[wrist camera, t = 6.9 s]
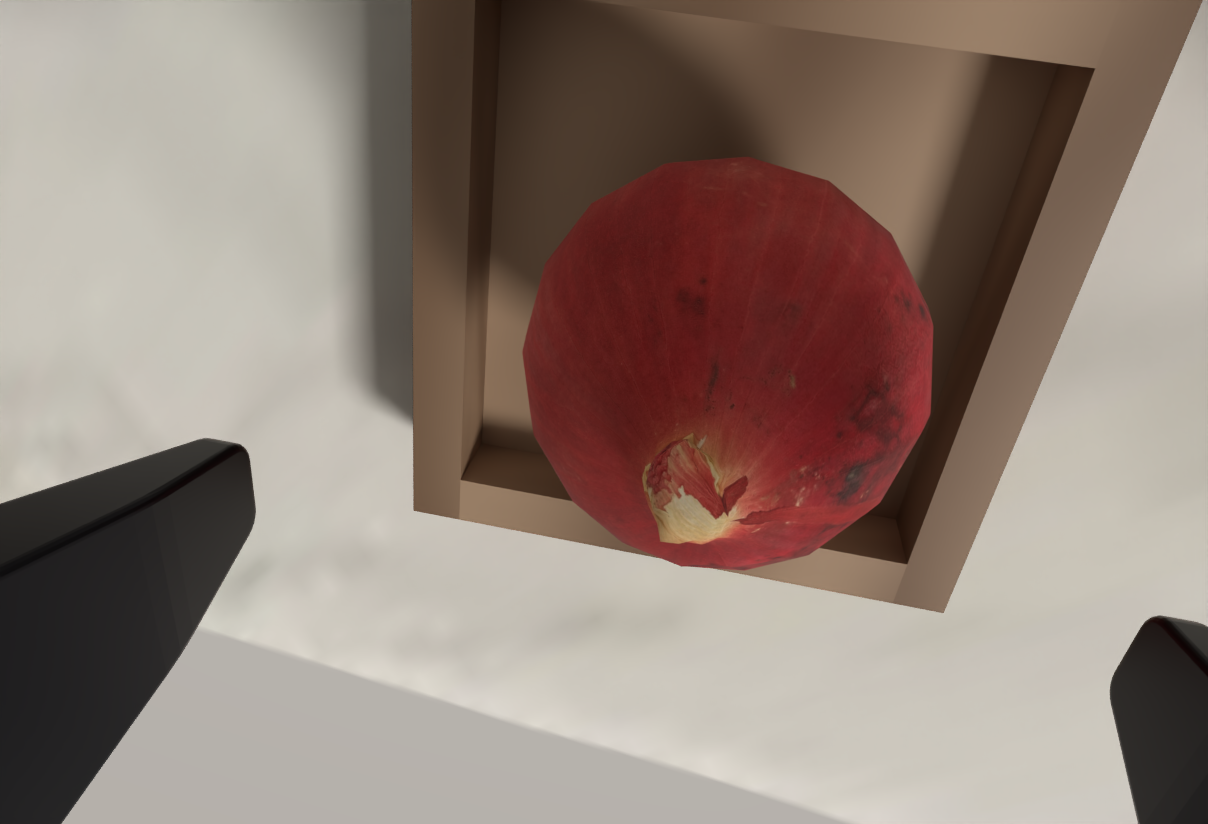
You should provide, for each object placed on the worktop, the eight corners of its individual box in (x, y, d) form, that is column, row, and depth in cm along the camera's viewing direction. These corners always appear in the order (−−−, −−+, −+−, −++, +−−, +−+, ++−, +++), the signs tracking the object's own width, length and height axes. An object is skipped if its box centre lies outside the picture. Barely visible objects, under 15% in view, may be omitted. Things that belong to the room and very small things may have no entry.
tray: (1128, -7, 13) (1203, -2, 11) (921, 537, 18) (943, 612, 16) (464, -90, 14) (411, -101, 12) (451, 450, 19) (413, 510, 17)
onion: (952, 188, 14) (1148, 383, 7) (815, 460, 17) (852, 799, 10) (630, 77, 14) (493, 156, 7) (546, 366, 17) (388, 633, 10)
